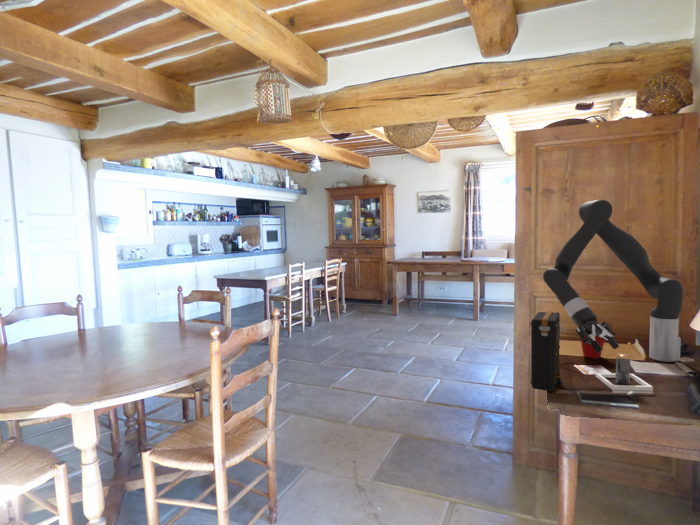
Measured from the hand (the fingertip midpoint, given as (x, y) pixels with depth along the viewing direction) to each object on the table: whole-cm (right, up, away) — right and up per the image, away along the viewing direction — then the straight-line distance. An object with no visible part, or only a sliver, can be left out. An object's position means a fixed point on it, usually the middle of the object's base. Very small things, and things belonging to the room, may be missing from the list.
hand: (608, 349), depth 148 cm
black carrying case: (-22, -12, 0) cm, 26 cm away
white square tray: (+2, -12, -4) cm, 13 cm away
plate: (0, -11, +10) cm, 14 cm away
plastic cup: (+9, -9, +26) cm, 29 cm away
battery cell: (+2, -11, -4) cm, 12 cm away
